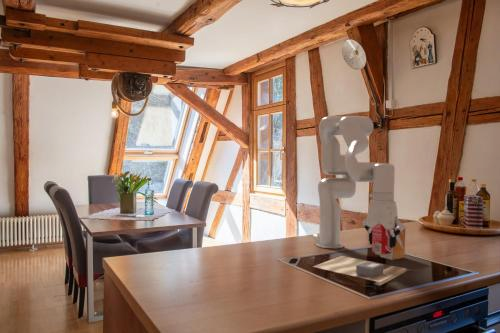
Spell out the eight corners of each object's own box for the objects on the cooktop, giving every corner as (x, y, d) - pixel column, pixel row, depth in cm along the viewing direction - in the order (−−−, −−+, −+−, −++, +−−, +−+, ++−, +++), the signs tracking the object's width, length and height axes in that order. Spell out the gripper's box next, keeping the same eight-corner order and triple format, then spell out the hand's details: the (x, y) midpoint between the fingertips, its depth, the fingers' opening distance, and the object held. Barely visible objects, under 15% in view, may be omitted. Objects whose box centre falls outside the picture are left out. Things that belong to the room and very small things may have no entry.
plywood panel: (312, 269, 150) (312, 266, 150) (342, 258, 167) (342, 255, 167) (379, 285, 133) (380, 282, 133) (405, 271, 149) (405, 268, 149)
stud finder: (356, 274, 142) (356, 264, 141) (367, 269, 147) (368, 260, 147) (372, 277, 137) (372, 268, 137) (383, 273, 143) (383, 264, 143)
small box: (392, 260, 165) (393, 228, 165) (379, 257, 170) (380, 226, 170) (405, 257, 170) (405, 226, 169) (392, 254, 175) (393, 224, 174)
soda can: (392, 252, 152) (392, 220, 152) (392, 256, 145) (392, 223, 145) (372, 250, 154) (372, 219, 154) (371, 255, 148) (372, 222, 147)
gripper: (356, 196, 152) (355, 243, 153) (402, 199, 141) (401, 251, 141) (365, 194, 158) (364, 240, 158) (410, 198, 146) (409, 247, 147)
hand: (382, 245), depth 150 cm, fingers closed on soda can, 7 cm apart
